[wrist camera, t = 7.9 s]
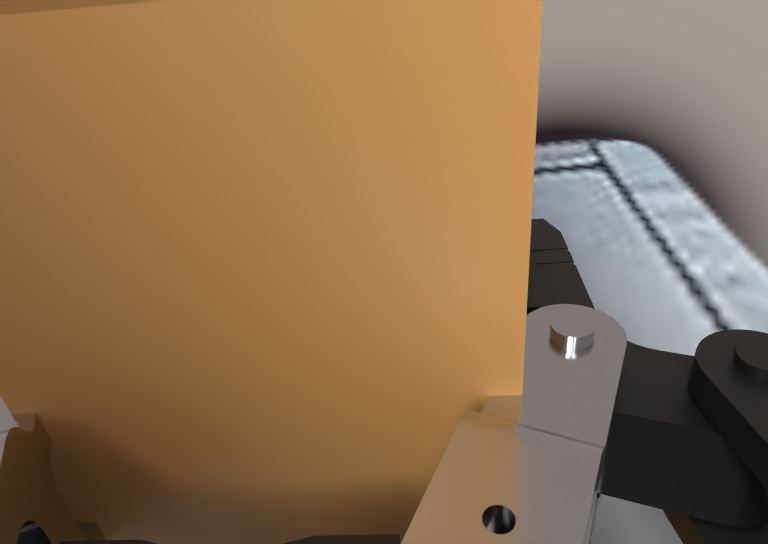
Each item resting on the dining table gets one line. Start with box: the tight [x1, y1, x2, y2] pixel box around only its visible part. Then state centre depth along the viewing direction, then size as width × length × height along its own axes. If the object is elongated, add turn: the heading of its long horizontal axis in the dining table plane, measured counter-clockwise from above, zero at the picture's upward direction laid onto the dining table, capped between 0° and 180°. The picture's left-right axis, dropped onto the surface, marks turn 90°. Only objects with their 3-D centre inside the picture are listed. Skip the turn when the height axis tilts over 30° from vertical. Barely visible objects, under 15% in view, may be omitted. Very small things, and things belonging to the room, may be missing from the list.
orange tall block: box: [0, 0, 543, 544], centre depth 10 cm, size 6×6×14 cm
